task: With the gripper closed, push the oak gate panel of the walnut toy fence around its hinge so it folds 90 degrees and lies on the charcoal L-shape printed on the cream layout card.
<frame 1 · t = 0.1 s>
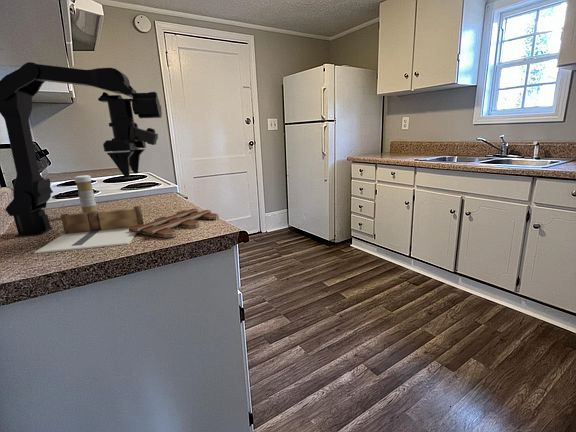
hand: (131, 175, 89), 15 cm above the countertop, fingers open, 9 cm apart
sprinkles bottle: (90, 215, 106), on the countertop
layout card: (96, 237, 81), on the countertop
gate panel: (121, 217, 87), point 3 cm above the countertop, hinge at 0.0°
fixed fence: (96, 231, 86), resting on layout card
decorative fence: (178, 224, 90), on the countertop, touching layout card
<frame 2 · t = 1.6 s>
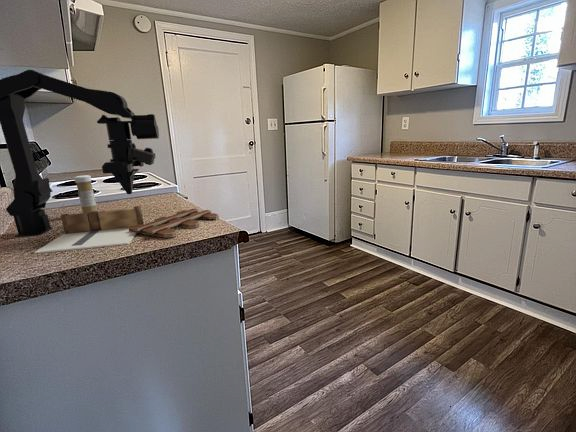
hand: (129, 193, 92), 9 cm above the countertop, fingers closed
nothing on the countertop moved.
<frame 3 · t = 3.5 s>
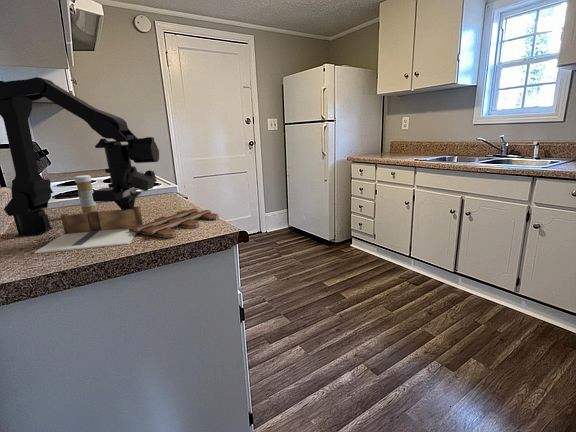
hand: (130, 218, 89), 3 cm above the countertop, fingers closed
gate panel: (121, 218, 86), point 3 cm above the countertop, hinge at -3.9°, touching gripper
everything else where it was.
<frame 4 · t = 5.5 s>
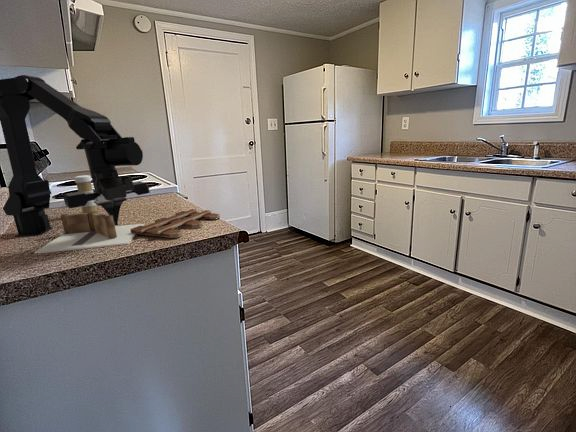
hand: (116, 225, 82), 3 cm above the countertop, fingers closed
gate panel: (104, 224, 81), point 3 cm above the countertop, hinge at -52.3°, touching gripper
decorative fence: (179, 225, 89), on the countertop, touching layout card
everything else where it was.
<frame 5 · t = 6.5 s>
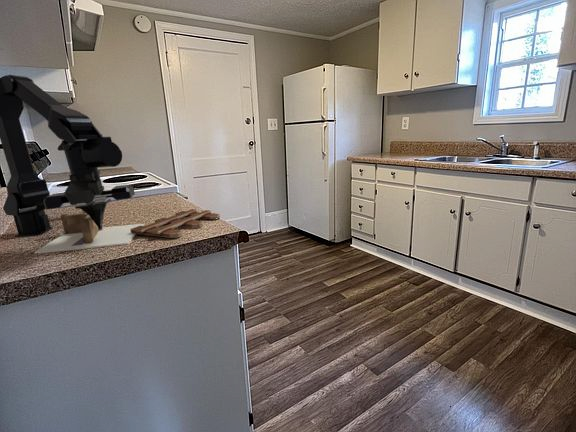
hand: (100, 228, 79), 3 cm above the countertop, fingers closed
gate panel: (89, 226, 79), point 3 cm above the countertop, hinge at -78.5°, touching gripper
everything else where it was.
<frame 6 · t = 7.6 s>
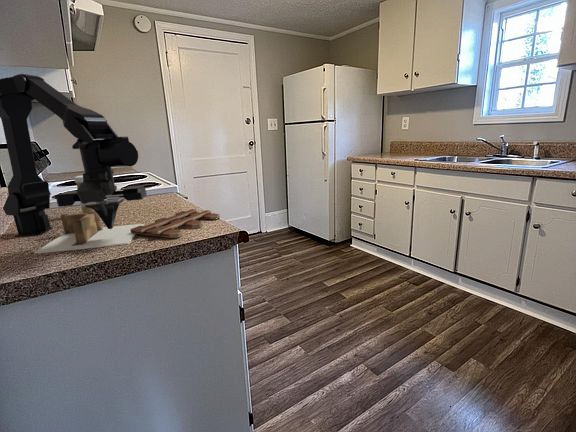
hand: (110, 228, 79), 3 cm above the countertop, fingers closed
gate panel: (85, 227, 79), point 3 cm above the countertop, hinge at -86.5°
everything else where it was.
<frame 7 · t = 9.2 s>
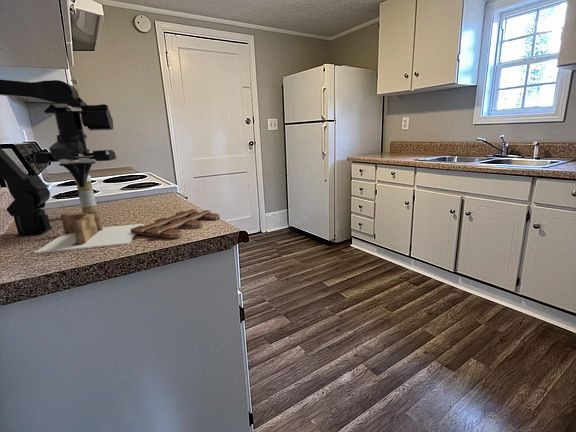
hand: (82, 187, 89), 12 cm above the countertop, fingers closed
nothing on the countertop moved.
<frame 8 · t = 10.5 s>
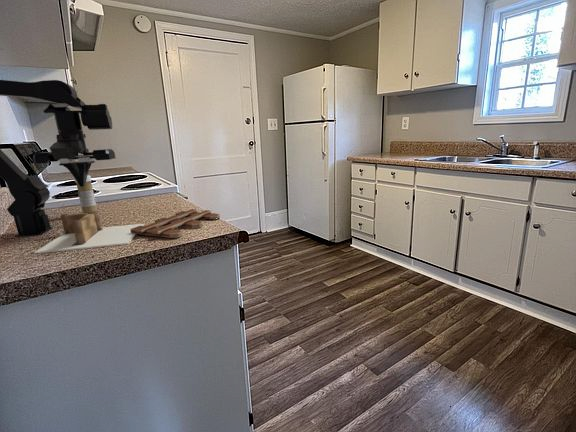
hand: (82, 186, 89), 12 cm above the countertop, fingers closed
nothing on the countertop moved.
at the end: gate panel at -86° (first picture: +0°) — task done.
